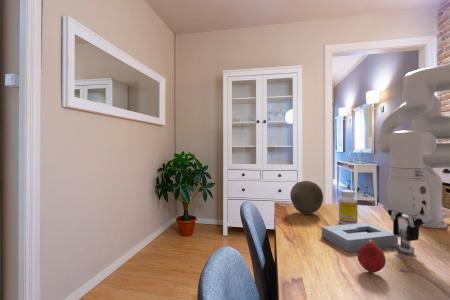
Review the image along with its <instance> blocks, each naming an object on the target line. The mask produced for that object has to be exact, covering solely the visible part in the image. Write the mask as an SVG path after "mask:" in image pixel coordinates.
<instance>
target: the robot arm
mask: <svg viewBox="0 0 450 300" xmlns="http://www.w3.org/2000/svg"><path fill="white" fill-rule="evenodd" d="M402 85H403V89H402V97H401V102H400V105H399V106H398V107H397V108H395V109H394V110H393V111H391V112H390V114H389V115H387V117H385V118H384V120H383V122H382V124H381V126H380V131H379V135H378V141H377V144H378V150H379V152H380V153H382V154H383V155H386V156H389V176H388V178H387V182H386V188H385V203H384V205H383V206H382V207H383V209H384V210H385V211H386V212H387V213H388V215H389V217H390V220H391V221H392V233H393V234H394V235H398V216H404V215H405V216H406V215H407V216H406V217H408V218H409V225H410V226H408V227H407V239H408V240H409V241H410V242H413V241H418V240H419V236H420V227H423V228H428V229H446V228H447V227H448V222H446V221H444V219H448V218H450V214H449V213H447V212H443V180H442V178H441V176H440V175H439V174H438V173H437V172H436V171H435V170H434V169H449V170H450V142H439V143H438V141H439V140H449V141H450V113H446V114H443V113H442V102H441V100H440V98H438V97H437V96H436V95H435V93H437V92H445V91H446V92H447V91H450V63H447V64H446V63H445V64H441V65H436V66H430V67H424V68H420V69H417V70H413V71H410V72H408V73H406V74H405V75H404V76H403V78H402ZM411 121H412V130H398V131H395V130H397V128H399V127H400V126H402V125H404V124H406V123H409V122H411ZM437 140H438V141H437Z"/></svg>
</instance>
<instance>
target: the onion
mask: <svg viewBox="0 0 450 300" xmlns="http://www.w3.org/2000/svg"><path fill="white" fill-rule="evenodd" d="M356 256H357V261H358V263H359V264H360V266H361V267H362V268H363V269H364V270H365V271H366V272H368V273H369V274H374V273H378V272H380V271H381V270H382V269H383V268H385V266H386V257H385V256H386V255H385V254H384V252H383V250H382V249H381V248H379V247H378V246H377V245H375V244H374V241H373V240H372V239H371V240H369V242H368V243H367V244H364V245H362V246H361V247H360V248H359V250H358V251H357V255H356Z"/></svg>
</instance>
